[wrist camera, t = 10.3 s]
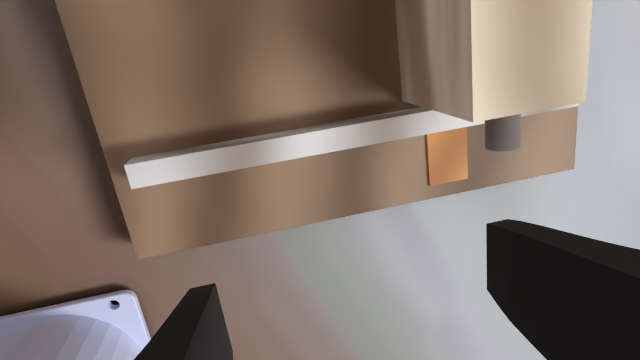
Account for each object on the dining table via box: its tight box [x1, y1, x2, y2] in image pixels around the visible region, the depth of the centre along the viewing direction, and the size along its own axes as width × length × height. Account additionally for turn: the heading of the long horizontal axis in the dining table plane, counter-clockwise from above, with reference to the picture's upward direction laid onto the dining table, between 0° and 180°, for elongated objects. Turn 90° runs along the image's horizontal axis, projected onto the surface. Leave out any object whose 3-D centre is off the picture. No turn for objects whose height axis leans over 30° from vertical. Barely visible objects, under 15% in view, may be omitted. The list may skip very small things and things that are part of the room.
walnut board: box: [55, 0, 579, 259], centre depth 18 cm, size 22×16×3 cm
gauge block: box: [395, 0, 593, 151], centre depth 15 cm, size 4×9×6 cm, turn 8°
